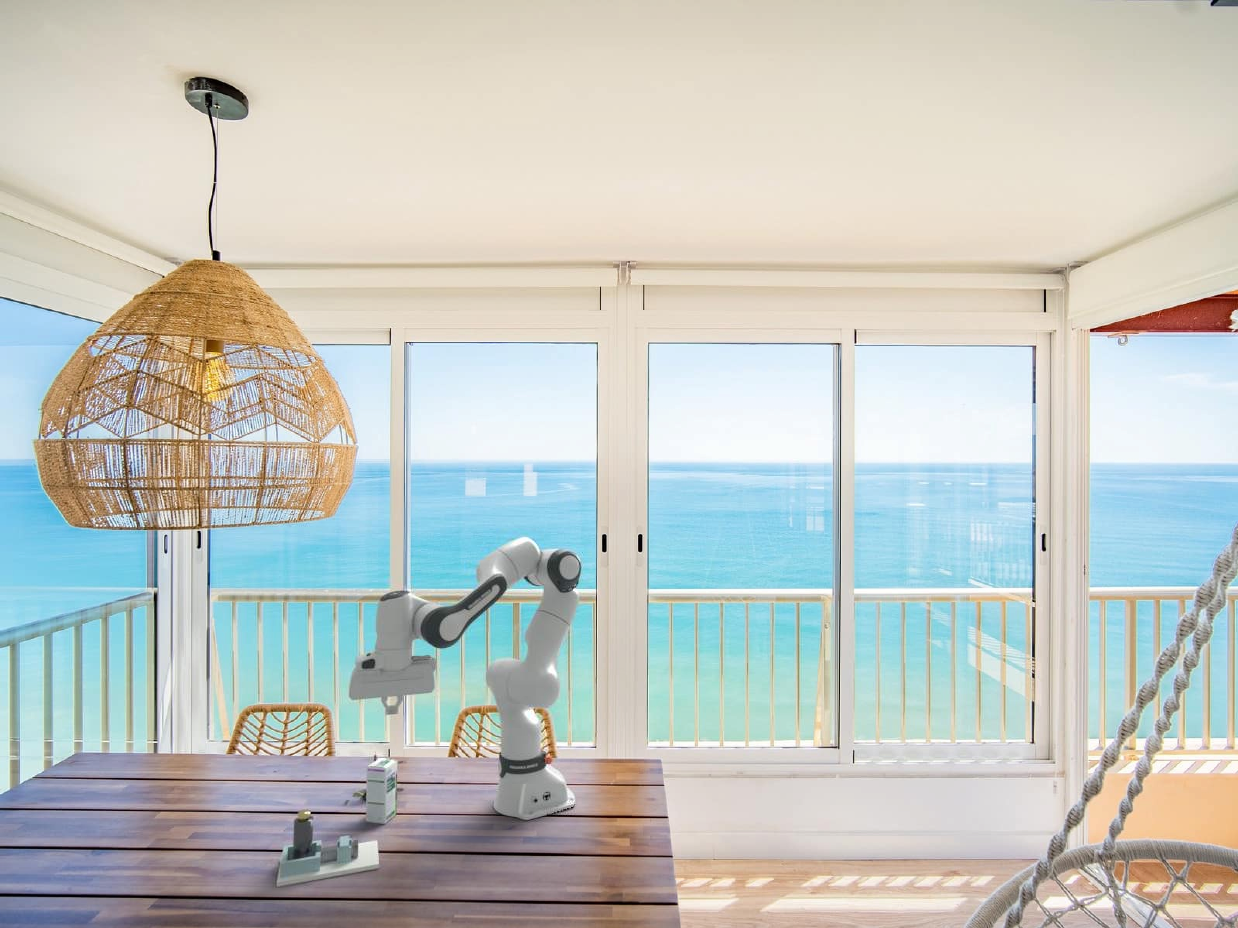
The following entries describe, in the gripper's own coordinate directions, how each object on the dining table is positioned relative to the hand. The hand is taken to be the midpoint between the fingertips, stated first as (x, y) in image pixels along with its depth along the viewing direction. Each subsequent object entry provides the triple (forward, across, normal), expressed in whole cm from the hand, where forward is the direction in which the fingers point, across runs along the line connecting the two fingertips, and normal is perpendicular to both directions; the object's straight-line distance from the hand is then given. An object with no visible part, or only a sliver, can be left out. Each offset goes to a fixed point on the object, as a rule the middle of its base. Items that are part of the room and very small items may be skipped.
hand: (391, 713), depth 167 cm
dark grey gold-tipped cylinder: (+30, +19, +6) cm, 36 cm away
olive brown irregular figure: (+32, +2, -26) cm, 41 cm away
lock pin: (+30, +11, +6) cm, 32 cm away
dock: (+31, +14, +6) cm, 35 cm away
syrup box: (+31, +1, -13) cm, 34 cm away
